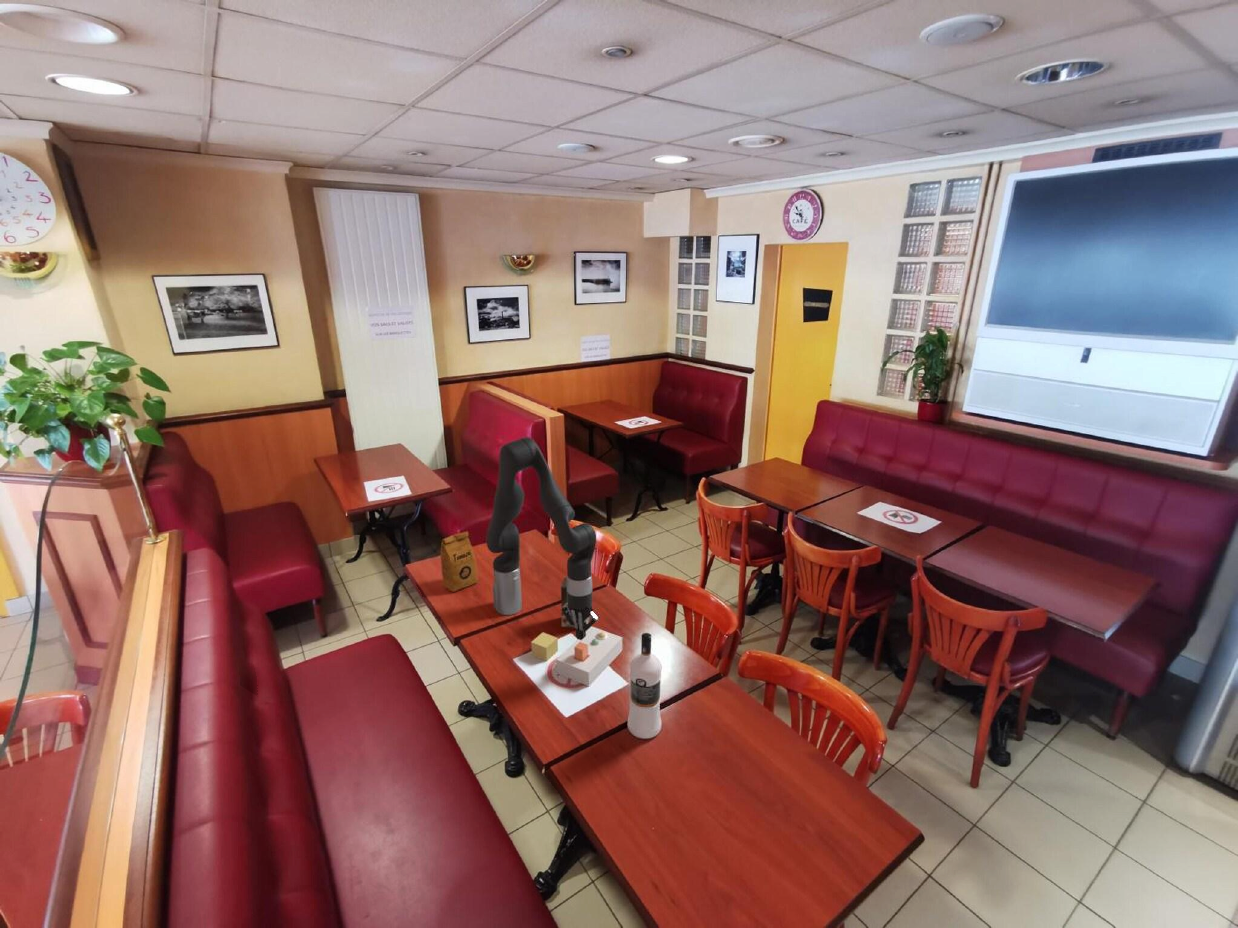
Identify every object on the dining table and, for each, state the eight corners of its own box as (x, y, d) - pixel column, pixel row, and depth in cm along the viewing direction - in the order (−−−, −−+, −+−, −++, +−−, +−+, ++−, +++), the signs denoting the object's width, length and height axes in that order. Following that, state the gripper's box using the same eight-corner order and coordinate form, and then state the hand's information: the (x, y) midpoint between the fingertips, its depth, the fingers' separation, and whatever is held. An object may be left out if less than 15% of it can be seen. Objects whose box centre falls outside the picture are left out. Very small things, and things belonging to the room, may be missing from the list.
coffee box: (560, 627, 204) (559, 586, 199) (564, 616, 210) (563, 577, 205) (587, 628, 203) (586, 588, 198) (589, 618, 209) (589, 578, 204)
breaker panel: (556, 672, 181) (555, 655, 179) (591, 638, 198) (591, 622, 196) (589, 686, 176) (588, 668, 174) (622, 650, 192) (622, 633, 190)
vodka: (666, 722, 162) (670, 630, 152) (651, 745, 154) (654, 650, 145) (637, 710, 166) (638, 620, 156) (621, 732, 159) (621, 638, 149)
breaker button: (574, 660, 181) (574, 646, 179) (580, 655, 183) (579, 641, 182) (582, 663, 179) (582, 650, 178) (588, 658, 182) (587, 644, 180)
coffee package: (481, 584, 230) (477, 534, 223) (451, 595, 223) (446, 543, 216) (470, 574, 238) (465, 525, 230) (440, 584, 230) (435, 534, 223)
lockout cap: (532, 654, 190) (531, 641, 188) (543, 644, 195) (542, 632, 193) (546, 660, 187) (546, 647, 185) (558, 650, 192) (557, 637, 190)
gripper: (554, 588, 173) (556, 638, 179) (591, 600, 167) (592, 651, 172) (568, 577, 179) (570, 625, 185) (605, 588, 173) (605, 638, 179)
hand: (580, 638), depth 179 cm, fingers closed
